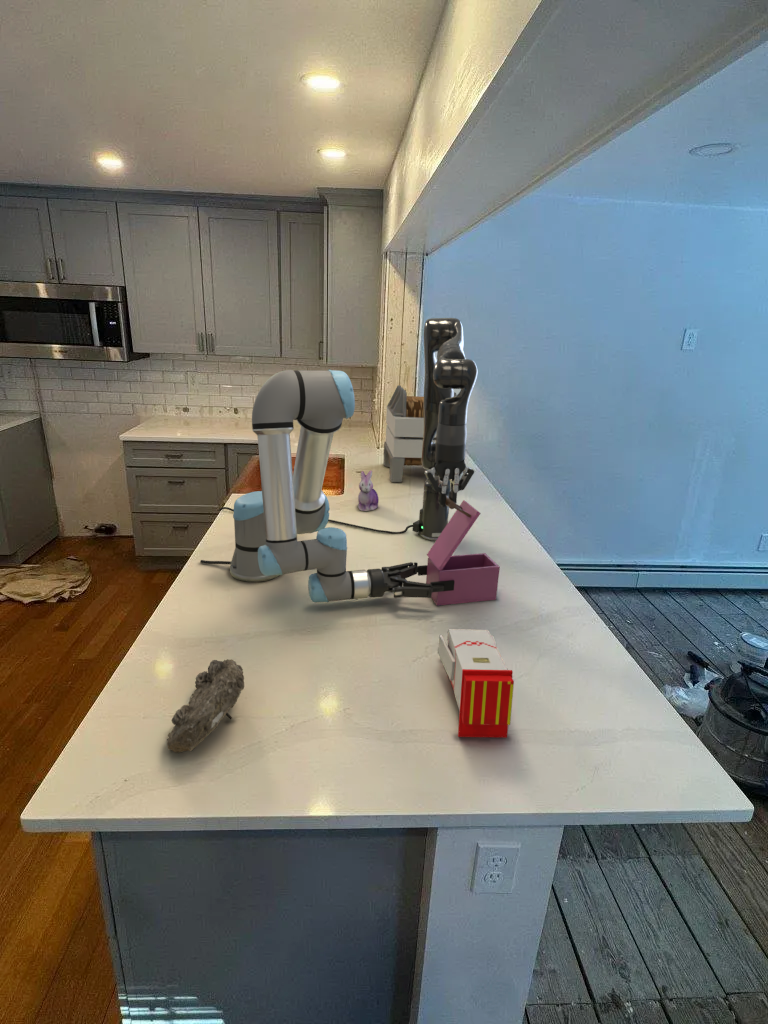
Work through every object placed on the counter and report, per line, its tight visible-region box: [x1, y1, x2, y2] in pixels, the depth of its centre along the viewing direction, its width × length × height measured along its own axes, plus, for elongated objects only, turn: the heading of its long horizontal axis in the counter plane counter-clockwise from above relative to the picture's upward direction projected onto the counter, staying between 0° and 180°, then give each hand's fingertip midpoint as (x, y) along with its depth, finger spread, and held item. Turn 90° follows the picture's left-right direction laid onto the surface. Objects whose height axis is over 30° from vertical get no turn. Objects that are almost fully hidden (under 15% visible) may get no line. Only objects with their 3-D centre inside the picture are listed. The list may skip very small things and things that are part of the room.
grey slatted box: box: [383, 384, 461, 483], centre depth 268 cm, size 34×33×41 cm
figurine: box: [357, 470, 380, 512], centre depth 221 cm, size 9×10×15 cm
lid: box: [426, 496, 481, 571], centre depth 150 cm, size 18×9×8 cm
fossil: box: [166, 658, 245, 754], centre depth 106 cm, size 22×10×15 cm
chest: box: [425, 552, 501, 607], centre depth 157 cm, size 18×9×10 cm, turn 106°
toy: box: [437, 628, 515, 738], centre depth 117 cm, size 12×13×30 cm
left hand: (446, 576), depth 156 cm, fingers closed on chest, 9 cm apart
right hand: (447, 505), depth 148 cm, fingers closed on lid, 2 cm apart
